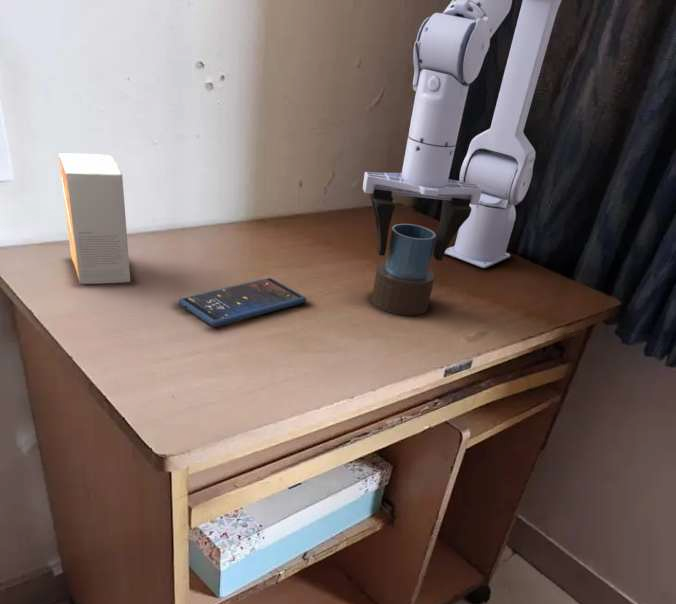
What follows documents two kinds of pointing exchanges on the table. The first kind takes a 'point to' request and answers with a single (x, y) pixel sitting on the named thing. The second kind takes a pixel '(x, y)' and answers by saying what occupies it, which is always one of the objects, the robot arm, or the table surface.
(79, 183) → the small box
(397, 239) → the cup
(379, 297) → the brown short cylinder
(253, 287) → the smartphone
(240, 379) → the table surface
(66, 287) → the table surface
